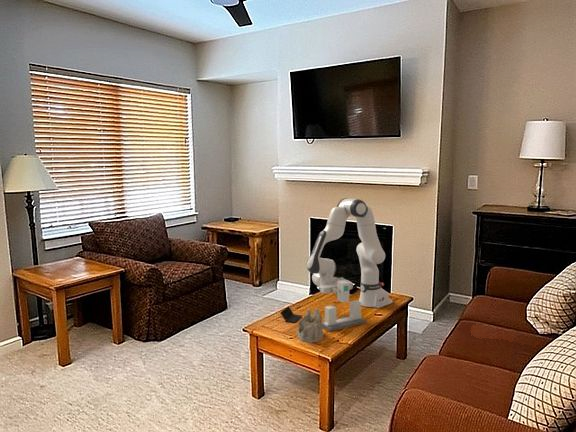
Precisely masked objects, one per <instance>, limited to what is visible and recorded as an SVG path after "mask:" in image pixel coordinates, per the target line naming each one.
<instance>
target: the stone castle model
mask: <svg viewBox="0 0 576 432" xmlns="http://www.w3.org/2000/svg"><path fill="white" fill-rule="evenodd" d="M321 314H322V313H320V308H319V307H317V308H316V310H315V311H312V312H311V309H310V308H307V310H306V315H304V316H302V318H301V319H300V320H299V321H298V322H297V323H298V326H297V327H298V328H297V331H296V335H298V339H299V340H300V341H301V342H305V343H308V344H309V343H310V344H311V343H315V342H318V341H320V340H322V339H323V337H324V335H325V334H324V331H323V330H324V329H323V327H322V324H321V323H322V322H323V321H322V320H323V317H322V315H321Z"/></svg>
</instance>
